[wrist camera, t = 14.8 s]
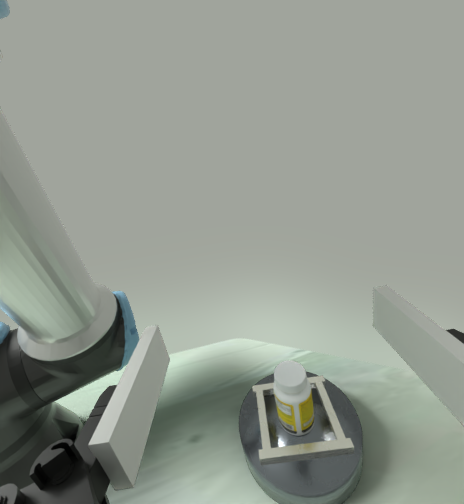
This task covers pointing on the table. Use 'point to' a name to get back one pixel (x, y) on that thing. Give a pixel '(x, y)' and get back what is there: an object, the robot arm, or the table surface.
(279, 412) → the supplement bottle
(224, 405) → the table surface
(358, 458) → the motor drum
